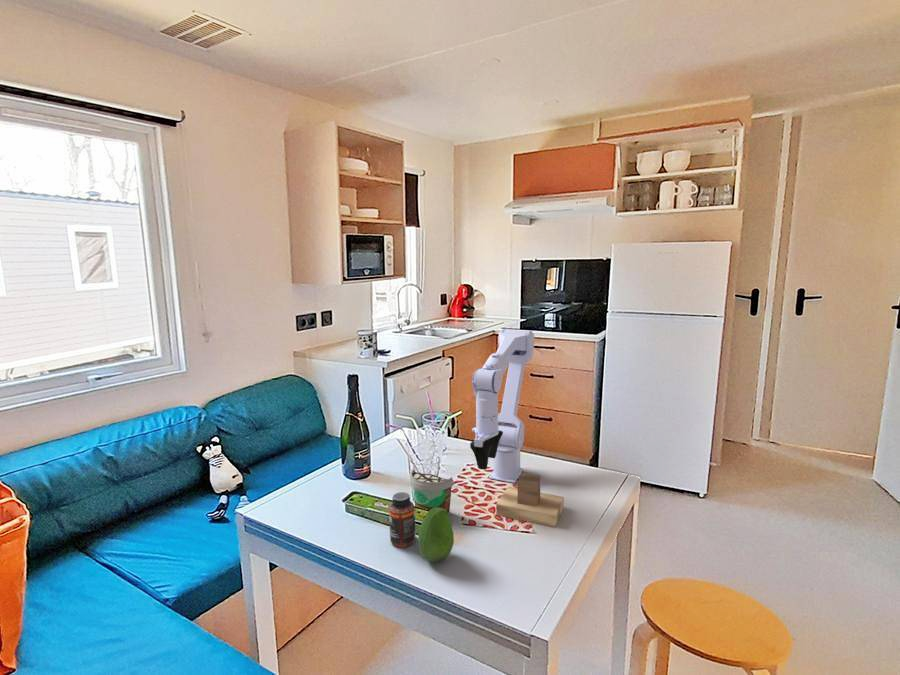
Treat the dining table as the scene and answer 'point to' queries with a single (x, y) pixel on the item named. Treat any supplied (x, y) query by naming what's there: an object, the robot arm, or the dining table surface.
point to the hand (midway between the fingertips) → (487, 462)
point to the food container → (431, 491)
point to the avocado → (436, 535)
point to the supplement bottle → (402, 520)
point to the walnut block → (528, 489)
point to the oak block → (531, 508)
